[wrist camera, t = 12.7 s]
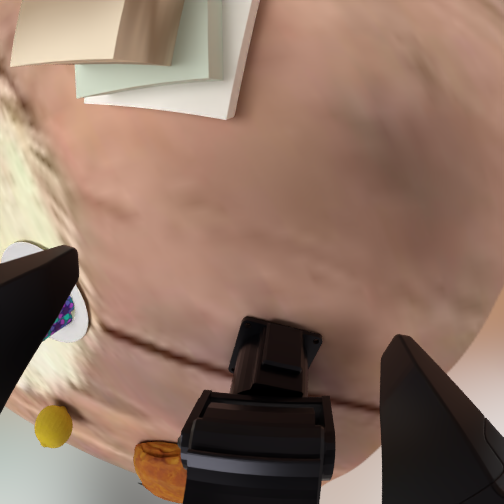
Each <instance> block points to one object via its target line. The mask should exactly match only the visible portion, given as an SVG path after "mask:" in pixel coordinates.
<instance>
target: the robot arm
mask: <svg viewBox="0 0 504 504" xmlns="http://www.w3.org/2000/svg"><path fill="white" fill-rule="evenodd" d="M78 278H79V263H78V252H77V250H76V249H75V248H73V247H70V246H67V245H61V246H58V247H54V248H51V249H47V250H44V251H40V252H37V253H33V254H30V255H27V256H23V257H20V258H17V259H13V260H10V261H7V262H4V263H0V413H1V412H2V410H3V408H4V406H5V404H6V402H7V400H8V398H9V397H10V395H11V393H12V391H13V389H14V388H15V386H16V384H17V382H18V381H19V379H20V377H21V375H22V374H23V372H24V370H25V369H26V367H27V365H28V364H29V362H30V360H31V359H32V357H33V356H34V354H35V352H36V351H37V349H38V348H39V346H40V344H41V343H42V341H43V340H44V338H45V337H46V335H47V333H48V332H49V330H50V329H51V327H52V326H53V324H54V323H55V321H56V319H57V317H58V316H59V314H60V312H61V310H62V308H63V306H64V304H65V303H66V301H67V299H68V297H69V295H70V294H71V292H72V290H73V288H74V286H75V285H76V283H77V281H78ZM246 323H250V325H248V324H246ZM315 339H318V340H315ZM321 344H322V336H321V335H320V334H317V333H313V332H308V331H304V330H300V329H295V328H291V327H287V326H283V325H278V324H274V323H270V322H266V321H262V320H258V319H254V318H250V317H245V318H244V319H243V320H242V323H241V326H240V330H239V333H238V337H237V340H236V343H235V347H234V350H233V354H232V357H231V361H230V364H229V368H228V369H229V371H230V372H231V373H234V375H233V379H232V384H231V388H230V393H219V392H212V391H211V390H204V391H203V393H202V395H201V397H200V398H199V399H198V401H197V403H196V404H195V406H194V408H193V410H192V412H191V414H190V416H189V418H188V420H187V421H186V423H185V425H184V427H183V429H182V431H181V436H180V437H179V438H178V442H177V445H178V447H179V448H180V449H181V462H182V466H183V468H184V469H185V470H187V477H186V485H185V492H184V498H183V504H319V499H320V491H321V481H324V480H331V477H332V474H333V469H334V461H335V430H334V423H333V415H332V409H331V402H330V396H322V397H308V369H309V367H310V365H311V363H312V361H313V359H314V357H315V355H316V353H317V352H318V350H319V348H320V346H321ZM380 424H381V445H382V504H504V437H503V436H502V435H501V434H500V433H499V432H498V431H497V430H496V429H495V427H494V426H493V425H492V424H491V423H490V422H489V420H488V419H487V418H484V415H483V414H482V413H481V411H480V410H479V409H478V408H477V407H476V406H475V405H474V404H473V403H472V402H471V400H470V399H469V398H468V397H467V396H466V395H465V394H464V393H463V392H462V390H460V389H459V387H458V386H457V385H456V384H455V383H454V382H453V381H452V380H451V379H450V377H449V376H448V375H447V374H446V373H445V372H444V371H443V370H442V369H441V368H440V367H439V366H438V365H437V364H436V363H435V362H434V361H433V359H432V358H431V357H430V356H429V355H428V354H427V353H426V352H425V351H424V350H423V349H422V348H421V347H420V346H419V345H418V344H417V343H416V342H415V341H414V340H413V339H412V338H411V337H410V336H406V335H401V334H398V335H396V336H395V337H394V338H393V339H392V341H391V343H390V344H389V346H388V347H387V349H386V350H385V352H384V353H383V355H382V358H381V375H380Z"/></svg>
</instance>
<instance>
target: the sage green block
mask: <svg viewBox="0 0 504 504" xmlns="http://www.w3.org/2000/svg"><path fill="white" fill-rule="evenodd" d="M75 80H76V97H77V98H84V97H92V96H100V95H108V94H113V93H119V92H124V91H130V90H136V89H143V88H150V87H157V86H165V85H173V84H183V83H193V82H206V81H221V80H223V36H222V0H185V2H184V6H183V10H182V14H181V19H180V23H179V28H178V32H177V37H176V42H175V47H174V52H173V58H172V63H171V66H157V65H136V64H85V65H75Z"/></svg>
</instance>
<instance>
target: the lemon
mask: <svg viewBox="0 0 504 504" xmlns="http://www.w3.org/2000/svg"><path fill="white" fill-rule="evenodd" d="M72 426H73V424H72V419H71V417H70V415H69V414H68V412H67V409H66V407H64V406H60V407H59V406H55V405H51V406H47V407H46V408H44V409H43V410H42V411H41V412H40V413H39V415H38V417H37V419H36V422H35V434H36V436H37V438H38V440H39V441H40V443H41V445H42V446H43V447H49V448H58V447H60V446H62V445H63V444H64V443H65V442H66V441H67V440H68V439H69V437H70V435H71V432H72Z"/></svg>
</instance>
